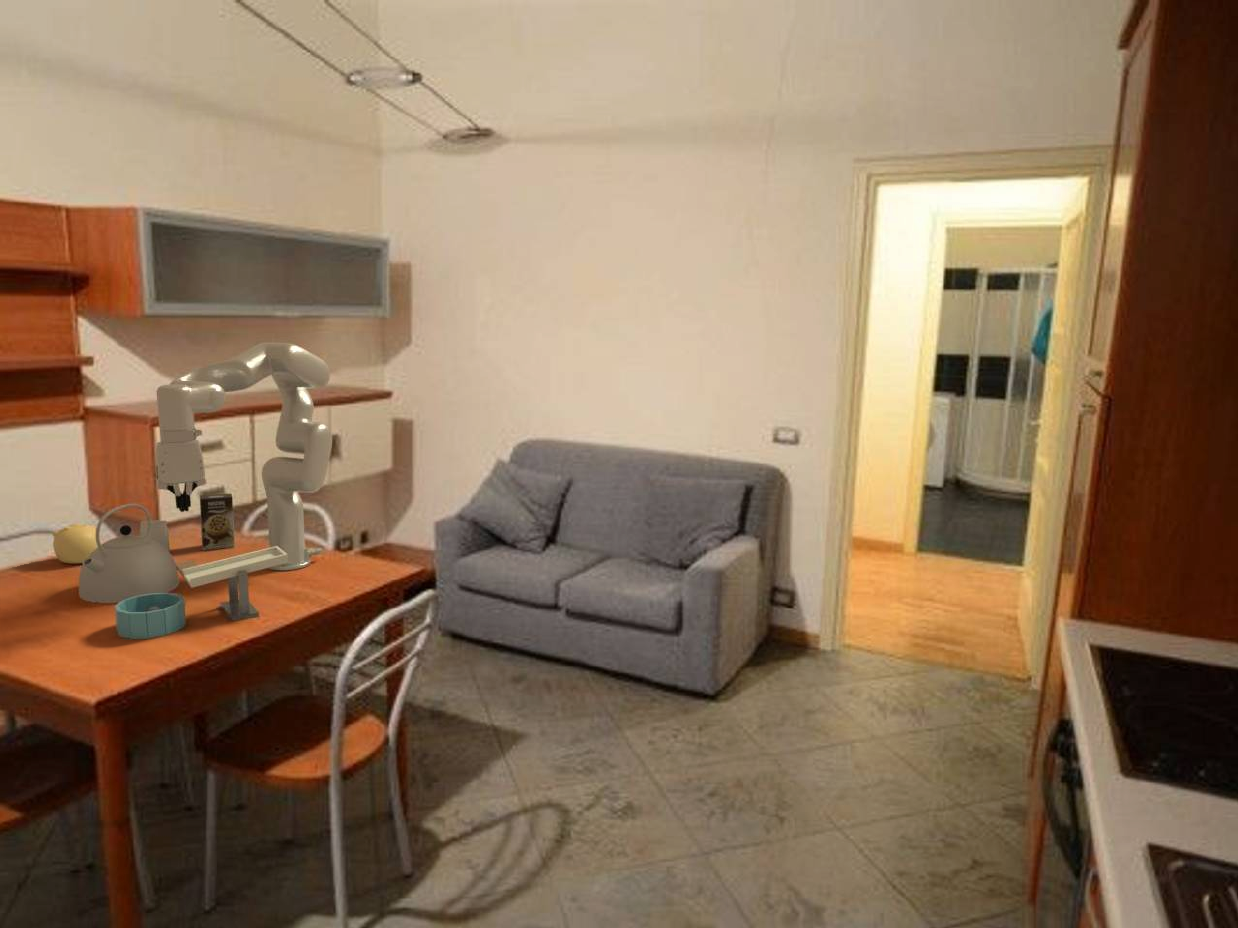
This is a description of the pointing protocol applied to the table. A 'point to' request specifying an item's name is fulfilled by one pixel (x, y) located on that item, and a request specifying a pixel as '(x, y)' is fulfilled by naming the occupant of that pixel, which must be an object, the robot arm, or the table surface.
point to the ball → (153, 609)
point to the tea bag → (156, 532)
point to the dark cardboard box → (217, 521)
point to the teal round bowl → (150, 615)
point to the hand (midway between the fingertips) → (183, 510)
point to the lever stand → (241, 606)
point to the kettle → (126, 566)
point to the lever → (231, 566)
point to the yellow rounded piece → (75, 543)
